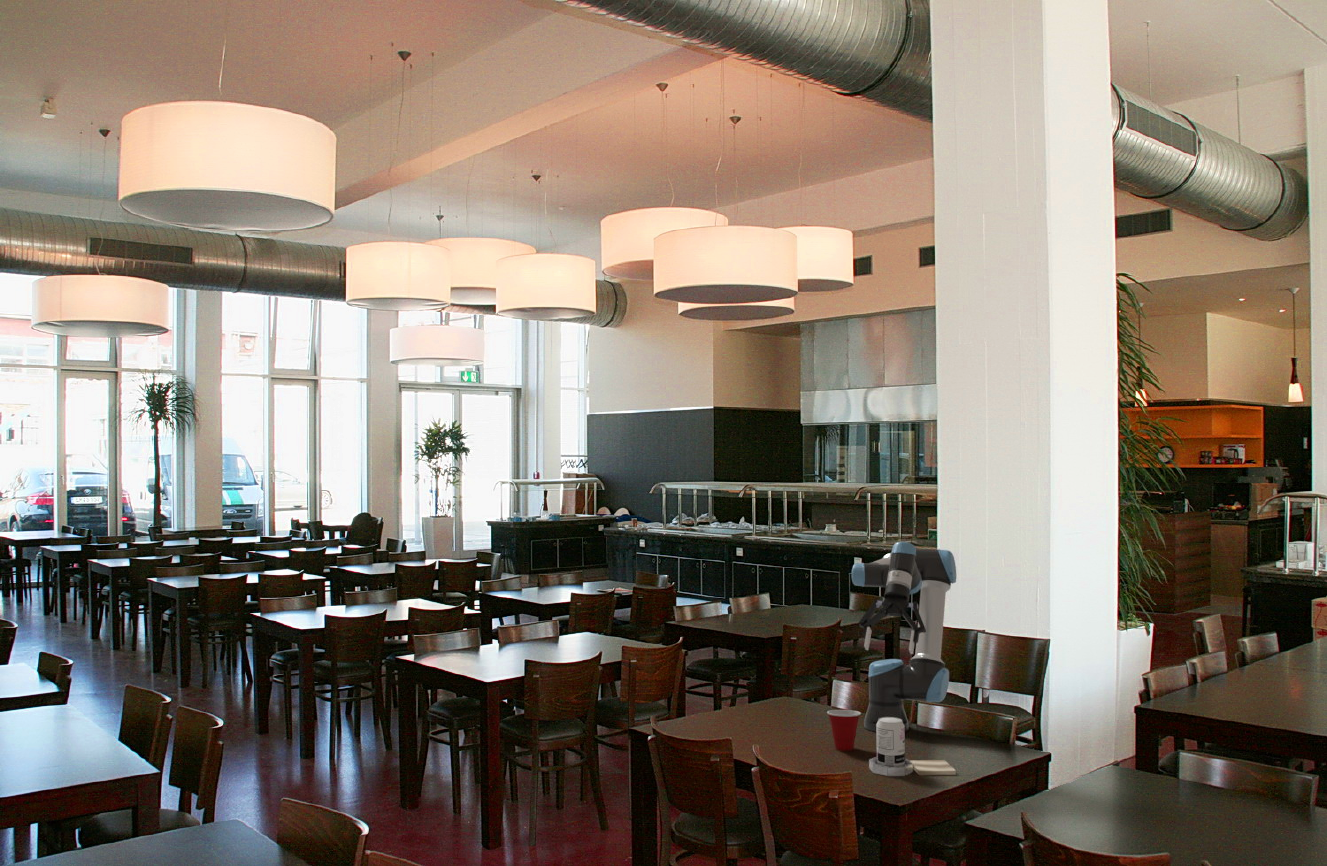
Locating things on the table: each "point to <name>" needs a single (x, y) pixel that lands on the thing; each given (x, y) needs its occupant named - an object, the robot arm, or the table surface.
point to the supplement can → (890, 742)
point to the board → (932, 767)
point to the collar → (891, 768)
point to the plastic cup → (844, 728)
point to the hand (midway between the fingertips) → (888, 650)
